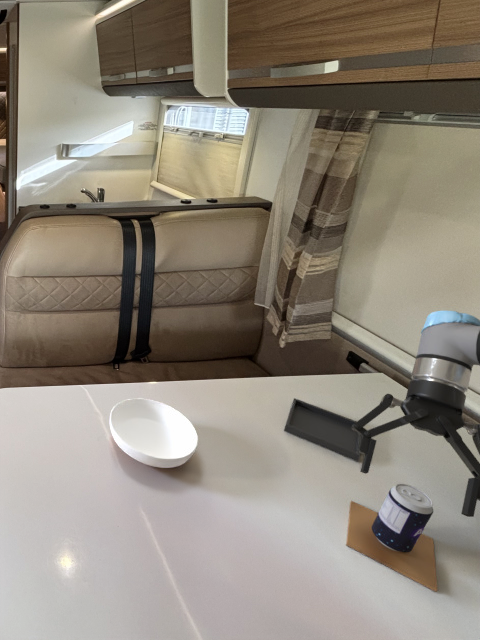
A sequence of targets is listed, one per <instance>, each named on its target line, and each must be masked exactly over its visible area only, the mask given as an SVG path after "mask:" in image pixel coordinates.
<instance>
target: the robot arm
mask: <svg viewBox="0 0 480 640" xmlns="http://www.w3.org/2000/svg"><path fill="white" fill-rule="evenodd" d="M474 366H479V367H480V318H478V317H476V316H474V315H472V314H470V313H465V312H459V311H456V310H436V311H432V312H431V313H429V314H428V315H427V316H426V319H425V322H424V324H423V328H422V329H421V331H420V339H419V344H418V348H417V352H416V356H415V360H414V364H413V368H412V371H411V375H410V378H411V379H412V380H410V381H409V383H408V386H407V387H408V388H407V391H406V395H405V399H404V400H401V399H399V398H396V397H395V396H393V394H391V393H386V394H385V395H383V396H382V398H381V400H380V402H379V404H378V405H377V406H375V407H374V408H373V409H371V410H370V411H369V412H367V413H366V414H365V415H363V416H362V417H361V418H360V419H358V420H357V422H356V423H355V424H353V425H352V426H351V429H352V430H353V431H356V432H357V433H359V434H360V435H361V441H360V445H359V449H358V450H359V453H361V455H364V456H363V459H362V463H361V467H360V473H362V474H368V473H369V471H370V468H371V464H372V460H373V456H374V452H375V448H376V445H377V440H376V439H374V437H376V436H379V435H382V434H384V433H387V432H389V431H392V430H395V429H397V428H400V427H403V426H405V425H408V424H410V426H412V427H413V428H414V429H415V430H418V431H422V432H426V433H428V434H430V435H432V436H436V437H443V438H444V439H445V441H446V442H447V443H448V444H449V445H450V446H451V447H452V450H454V452H455V453H456V455H457V456H458V457H459V459H460V460H461V461H462V462H463V464H464V465H465V467H466V468H467V469H468V471H469V472H470V473H471V474H472V477H470V478H468V479H467V484H466V489H465V493H464V499H463V502H462V509H461V515H463V516H465V517H467V518H473V517H475V513H476V507H477V502H479V501H480V462H479V460H478V458H476V456H475V455H474V453H473V452H472V451H471V450H470V448H469V447H468V446H467V443H465V442H464V440H463V438H462V436H461V435H460V433H459V432H458V430H460V429H461V428H463V429H464V430H466V432H467V434H468V435H470V436H471V438H472V441H473V444H474V446H475V448H476V450H477V453H478V455H479V456H480V423H478V424H477V423H473V422H470V421H465V419H464V417H463V413H464V410H465V409H464V408H465V405H466V399H467V395H466V394H465V393H467V392H468V391H469V385H470V379H471V375H472V371H473V367H474ZM395 407H399V408H400V410H401V412H402V413H403V416H401V417H398V418H396V419H393V420H391V421H387V422H386V423H383V424H381V425H377V426H375V427H373V428H370V429H367V428H365V426H367V425H368V424H369V423H370V422H372V421H373V420H374V419H376V418H377V417H379V416H380V415H381V414H382V413H383V412H385V411H386V410H388V409H394V408H395Z"/></svg>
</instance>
